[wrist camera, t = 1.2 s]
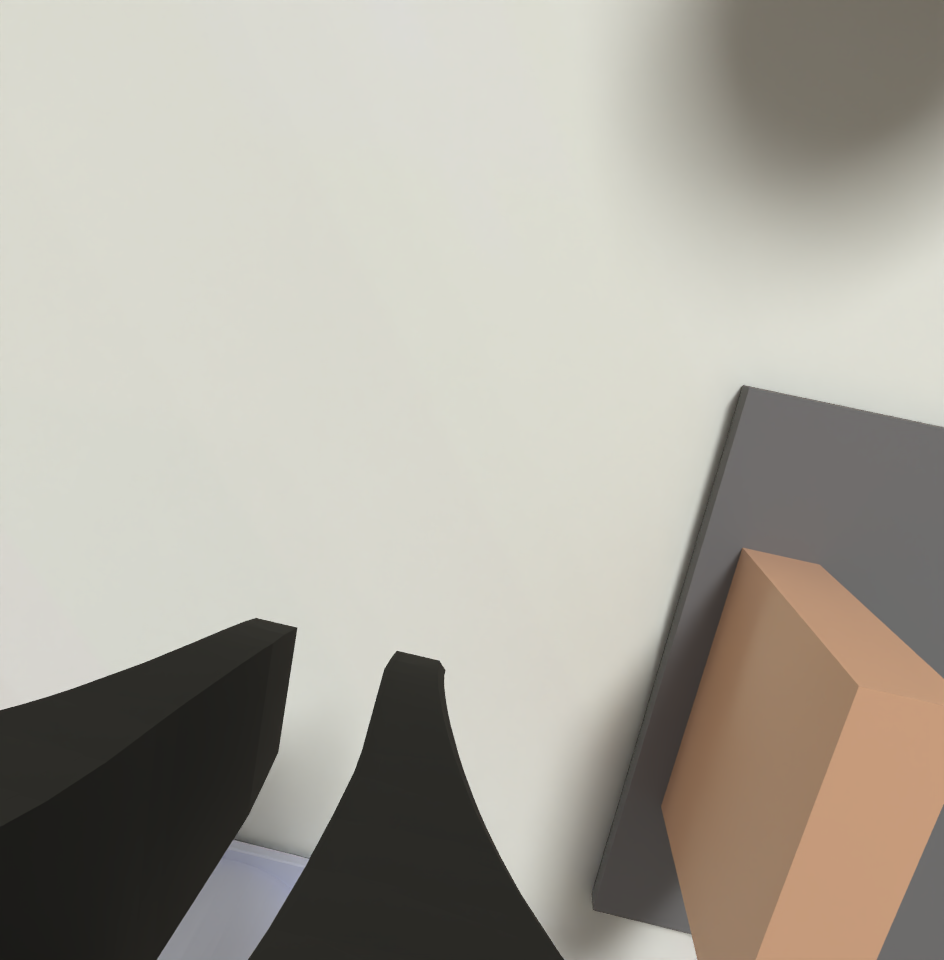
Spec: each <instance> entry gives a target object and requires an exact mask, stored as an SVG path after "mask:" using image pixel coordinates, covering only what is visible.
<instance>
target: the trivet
mask: <svg viewBox="0 0 944 960" xmlns="http://www.w3.org/2000/svg"><path fill="white" fill-rule="evenodd" d="M742 548H747V549H751V550H756V551H760V552H765V553H769V554H774V555H778V556H783V557H787V558H792V559H796V560H801V561H806V562H810V563H815V564H819V565H821V566H822V567H823V568H824V569H825V570H826V571H827V572H828V573H829V574H830V575H832V576H833V577H834V578H835V579H836V580H837V581H838V582H839V583H840V584H841V585H842V586H844V587H845V588H846V589H847V590H848V591H849V592H850V593H851V594H852V595H853V596H854V597H855V598H857V599H858V600H859V601H860V602H861V603H862V604H863V605H864V606H865V607H866V608H867V609H869V610H870V611H871V612H872V613H873V614H874V615H875V616H876V617H877V618H878V619H879V620H880V621H882V622H883V623H884V624H885V625H886V626H887V627H888V628H889V629H890V630H891V631H892V632H893V633H895V634H896V635H897V636H898V637H899V638H900V639H901V640H902V641H903V642H904V643H905V644H907V645H908V646H909V647H910V648H911V649H912V650H913V651H914V652H915V653H916V654H917V655H918V656H920V657H921V658H922V659H923V660H924V661H925V662H926V663H927V664H928V665H929V666H930V667H932V668H933V669H934V670H935V671H936V672H937V673H938V674H939V675H940V676H941V677H942V678H943V679H944V427H940V426H935V425H930V424H925V423H921V422H916V421H911V420H906V419H902V418H897V417H892V416H887V415H883V414H878V413H873V412H868V411H864V410H859V409H854V408H849V407H845V406H840V405H835V404H830V403H826V402H821V401H816V400H811V399H807V398H802V397H797V396H792V395H788V394H783V393H778V392H773V391H769V390H764V389H759V388H755V387H750V386H745V385H743V386H742V390H741V393H740V396H739V400H738V403H737V407H736V410H735V413H734V417H733V420H732V423H731V427H730V430H729V434H728V437H727V440H726V444H725V447H724V450H723V454H722V457H721V460H720V464H719V467H718V471H717V474H716V477H715V481H714V484H713V487H712V491H711V494H710V498H709V501H708V504H707V508H706V511H705V514H704V518H703V521H702V524H701V528H700V531H699V535H698V538H697V541H696V545H695V548H694V551H693V555H692V558H691V562H690V565H689V568H688V572H687V575H686V578H685V582H684V585H683V588H682V592H681V595H680V599H679V602H678V605H677V609H676V612H675V615H674V619H673V622H672V626H671V629H670V632H669V636H668V639H667V642H666V646H665V649H664V652H663V656H662V659H661V663H660V666H659V669H658V673H657V676H656V679H655V683H654V686H653V690H652V693H651V696H650V700H649V703H648V706H647V710H646V713H645V716H644V720H643V723H642V727H641V730H640V733H639V737H638V740H637V743H636V747H635V750H634V754H633V757H632V760H631V764H630V767H629V770H628V774H627V777H626V780H625V784H624V787H623V791H622V794H621V797H620V801H619V804H618V807H617V811H616V814H615V818H614V821H613V824H612V828H611V831H610V834H609V838H608V841H607V844H606V848H605V851H604V855H603V858H602V861H601V865H600V868H599V871H598V875H597V878H596V882H595V885H594V888H593V892H592V903H593V910H595V911H599V912H603V913H607V914H611V915H615V916H619V917H623V918H627V919H631V920H636V921H640V922H644V923H648V924H652V925H656V926H660V927H664V928H668V929H672V930H676V931H680V932H684V933H688V934H691V930H690V926H689V922H688V918H687V913H686V909H685V905H684V901H683V897H682V892H681V888H680V884H679V880H678V876H677V872H676V867H675V863H674V859H673V855H672V851H671V846H670V842H669V838H668V834H667V830H666V825H665V821H664V817H663V813H662V809H661V805H662V802H663V799H664V795H665V792H666V789H667V786H668V783H669V780H670V776H671V773H672V770H673V767H674V764H675V760H676V757H677V754H678V751H679V748H680V745H681V741H682V738H683V735H684V732H685V729H686V726H687V722H688V719H689V716H690V713H691V710H692V706H693V703H694V700H695V697H696V694H697V691H698V687H699V684H700V681H701V678H702V675H703V672H704V668H705V665H706V662H707V659H708V656H709V652H710V649H711V646H712V643H713V640H714V637H715V633H716V630H717V627H718V624H719V621H720V618H721V614H722V611H723V608H724V605H725V602H726V598H727V595H728V592H729V589H730V586H731V583H732V579H733V576H734V573H735V570H736V567H737V563H738V560H739V557H740V554H741V551H742ZM877 960H944V804H943V807H942V809H941V811H940V814H939V816H938V818H937V821H936V823H935V825H934V828H933V830H932V832H931V835H930V837H929V839H928V842H927V844H926V846H925V849H924V851H923V853H922V856H921V858H920V860H919V862H918V865H917V867H916V869H915V872H914V874H913V876H912V879H911V881H910V883H909V886H908V888H907V890H906V893H905V895H904V897H903V900H902V902H901V904H900V907H899V909H898V911H897V914H896V916H895V918H894V920H893V923H892V925H891V927H890V930H889V932H888V934H887V937H886V939H885V941H884V944H883V946H882V948H881V951H880V953H879V955H878V958H877Z"/></svg>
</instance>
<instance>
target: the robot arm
mask: <svg viewBox="0 0 944 960" xmlns="http://www.w3.org/2000/svg"><path fill="white" fill-rule="evenodd" d="M296 633H297V628H296V627H292V626H288V625H283V624H279V623H275V622H271V621H266V620H262V619H258V618H255V619H251V620H248V621H245V622H242V623H240V624H237V625H235V626H232V627H230V628H227V629H225V630H222V631H220V632H218V633H215V634H213V635H210V636H208V637H206V638H203V639H201V640H198V641H196V642H194V643H191V644H189V645H186V646H184V647H182V648H179V649H177V650H174V651H172V652H169V653H167V654H164V655H162V656H160V657H157V658H155V659H152V660H150V661H147V662H145V663H142V664H140V665H137V666H134V667H131V668H129V669H126V670H123V671H120V672H118V673H115V674H112V675H109V676H107V677H104V678H101V679H98V680H95V681H93V682H90V683H87V684H84V685H82V686H79V687H76V688H73V689H71V690H68V691H64V692H61V693H58V694H55V695H52V696H49V697H46V698H42V699H39V700H36V701H32V702H29V703H26V704H22V705H18V706H15V707H11V708H7V709H4V710H0V960H564V959H563V958H562V956H561V955H560V953H559V952H558V950H557V949H556V947H555V946H554V944H553V943H552V941H551V940H550V938H549V936H548V935H547V933H546V932H545V930H544V929H543V927H542V926H541V924H540V923H539V921H538V920H537V918H536V917H535V915H534V913H533V912H532V910H531V909H530V907H529V906H528V904H527V903H526V901H525V900H524V898H523V897H522V895H521V893H520V891H519V890H518V888H517V886H516V884H515V883H514V881H513V879H512V877H511V875H510V873H509V872H508V870H507V868H506V866H505V864H504V862H503V861H502V859H501V857H500V855H499V853H498V851H497V849H496V847H495V845H494V843H493V841H492V839H491V836H490V834H489V832H488V830H487V828H486V826H485V824H484V821H483V819H482V817H481V815H480V812H479V810H478V807H477V805H476V803H475V800H474V798H473V795H472V792H471V790H470V787H469V784H468V781H467V779H466V776H465V773H464V770H463V767H462V764H461V761H460V758H459V755H458V751H457V747H456V744H455V740H454V736H453V733H452V729H451V725H450V720H449V716H448V711H447V705H446V699H445V690H444V674H445V669H444V667H443V666H442V664H441V663H440V661H438V660H434V659H430V658H425V657H421V656H417V655H412V654H408V653H404V652H400V651H396V653H395V654H394V655H393V657H392V658H391V659H390V661H389V663H388V664H387V666H386V668H385V669H384V673H383V676H382V680H381V683H380V687H379V691H378V694H377V698H376V702H375V705H374V709H373V713H372V716H371V720H370V723H369V727H368V731H367V734H366V738H365V742H364V745H363V749H362V752H361V755H360V758H359V760H358V763H357V766H356V769H355V771H354V774H353V776H352V778H351V780H350V782H349V784H348V786H347V788H346V790H345V792H344V794H343V796H342V798H341V800H340V802H339V804H338V806H337V808H336V810H335V812H334V814H333V816H332V818H331V820H330V822H329V824H328V825H327V827H326V829H325V831H324V833H323V835H322V837H321V838H320V840H319V842H318V844H317V846H316V848H315V850H314V851H313V853H312V855H311V857H310V859H309V858H305V857H301V856H297V855H293V854H289V853H285V852H281V851H277V850H273V849H268V848H264V847H260V846H256V845H252V844H248V843H244V842H240V841H236V840H233V839H234V838H235V836H236V835H237V833H238V831H239V830H240V828H241V826H242V825H243V823H244V822H245V820H246V818H247V817H248V815H249V813H250V811H251V809H252V807H253V805H254V803H255V801H256V799H257V796H258V794H259V792H260V790H261V788H262V786H263V784H264V782H265V780H266V777H267V775H268V773H269V771H270V769H271V767H272V765H273V762H274V760H275V758H276V756H277V754H278V750H279V744H280V737H281V730H282V724H283V717H284V711H285V704H286V698H287V691H288V685H289V678H290V672H291V665H292V659H293V652H294V646H295V639H296Z"/></svg>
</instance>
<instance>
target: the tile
mask: <svg viewBox="0 0 944 960" xmlns="http://www.w3.org/2000/svg"><path fill="white" fill-rule="evenodd" d="M943 804H944V679H943V678H942V677H941V676H940V675H939V674H938V673H937V672H936V671H935V670H934V669H933V668H932V667H930V666H929V665H928V664H927V663H926V662H925V661H924V660H923V659H922V658H921V657H920V656H918V655H917V654H916V653H915V652H914V651H913V650H912V649H911V648H910V647H909V646H908V645H907V644H905V643H904V642H903V641H902V640H901V639H900V638H899V637H898V636H897V635H896V634H895V633H893V632H892V631H891V630H890V629H889V628H888V627H887V626H886V625H885V624H884V623H883V622H882V621H880V620H879V619H878V618H877V617H876V616H875V615H874V614H873V613H872V612H871V611H870V610H869V609H867V608H866V607H865V606H864V605H863V604H862V603H861V602H860V601H859V600H858V599H857V598H855V597H854V596H853V595H852V594H851V593H850V592H849V591H848V590H847V589H846V588H845V587H844V586H842V585H841V584H840V583H839V582H838V581H837V580H836V579H835V578H834V577H833V576H832V575H830V574H829V573H828V572H827V571H826V570H825V569H824V568H823V567H822V566H821V565H819V564H815V563H810V562H806V561H801V560H796V559H792V558H787V557H783V556H778V555H774V554H769V553H765V552H760V551H756V550H751V549H747V548H742V551H741V554H740V557H739V560H738V563H737V567H736V570H735V573H734V576H733V579H732V583H731V586H730V589H729V592H728V595H727V598H726V602H725V605H724V608H723V611H722V614H721V618H720V621H719V624H718V627H717V630H716V633H715V637H714V640H713V643H712V646H711V649H710V652H709V656H708V659H707V662H706V665H705V668H704V672H703V675H702V678H701V681H700V684H699V687H698V691H697V694H696V697H695V700H694V703H693V706H692V710H691V713H690V716H689V719H688V722H687V726H686V729H685V732H684V735H683V738H682V741H681V745H680V748H679V751H678V754H677V757H676V760H675V764H674V767H673V770H672V773H671V776H670V780H669V783H668V786H667V789H666V792H665V795H664V799H663V802H662V805H661V809H662V813H663V817H664V821H665V825H666V830H667V834H668V838H669V842H670V846H671V851H672V855H673V859H674V863H675V867H676V872H677V876H678V880H679V884H680V888H681V892H682V897H683V901H684V905H685V909H686V913H687V918H688V922H689V926H690V930H691V934H692V939H693V943H694V947H695V951H696V955H697V960H877V958H878V955H879V953H880V951H881V948H882V946H883V944H884V941H885V939H886V937H887V934H888V932H889V930H890V927H891V925H892V923H893V920H894V918H895V916H896V914H897V911H898V909H899V907H900V904H901V902H902V900H903V897H904V895H905V893H906V890H907V888H908V886H909V883H910V881H911V879H912V876H913V874H914V872H915V869H916V867H917V865H918V862H919V860H920V858H921V856H922V853H923V851H924V849H925V846H926V844H927V842H928V839H929V837H930V835H931V832H932V830H933V828H934V825H935V823H936V821H937V818H938V816H939V814H940V811H941V809H942V807H943Z"/></svg>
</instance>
